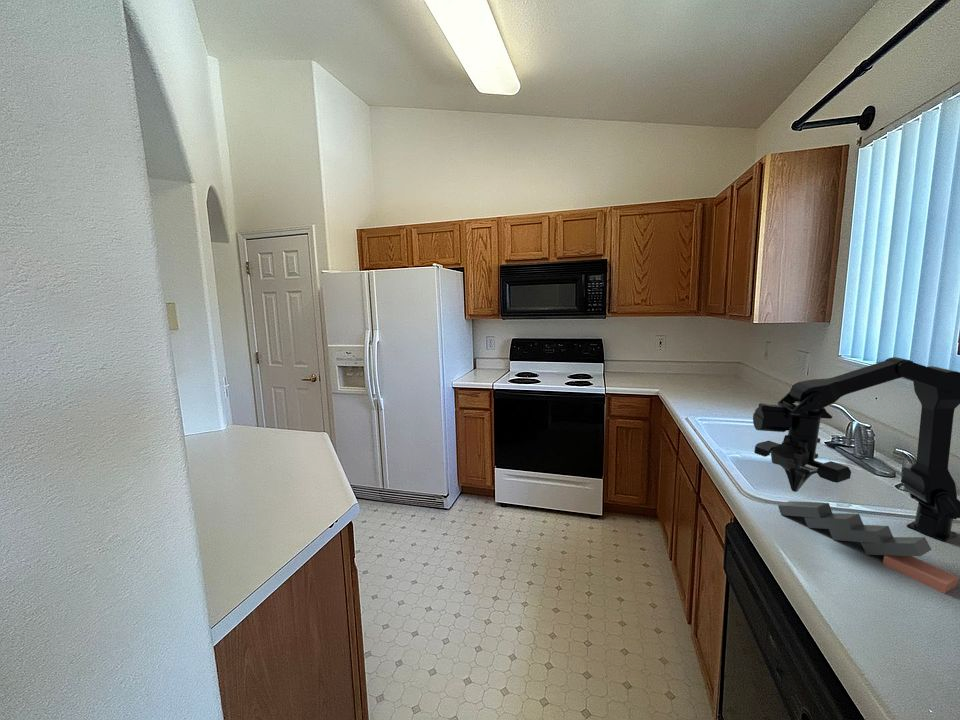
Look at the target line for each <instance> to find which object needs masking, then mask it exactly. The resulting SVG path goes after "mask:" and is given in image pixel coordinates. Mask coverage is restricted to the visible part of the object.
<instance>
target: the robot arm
mask: <svg viewBox="0 0 960 720" xmlns="http://www.w3.org/2000/svg"><path fill="white" fill-rule="evenodd" d="M901 378H903V379H905V380H908V381H911V382H913V391H914V393H915V395H916V397H917V398H918V401H919V402H920V404H921V409H920V412H921V413H920V420H919V430H918V431H919V432H918V441H917V454H916V461H915V463H914V464H913V465H912V466H911V467H905V466H904V467H902V478H901V480H900V482H901V483H902V484H903V488H904V489H906V491H907V492H908V494H909V496H910V498H911V499H914V501H916V502H918V503H917V508H916V513H915V518H914V521H912V522H910V523H907V524H906V528H908V529H911V530H914V531H916V532H918V533H921V534H924V535H927V536H929V537H931V538H934V539H936V540H939V541H941V542H947V541H949V540H951V539H953V538H954V537H955V538H956V537H957V536H958V533H957V532H955V531H953V530H952V528H953V524H954V523H953V522H954V520H957V519H960V500H959V499H958V492H957V485H956V482H955V480H954V478H953V476H952V474H951V472H950V471H949V462H950V451H951V443H952V434H953V424H954V414H955V410H956V408H957V407H959V406H960V372H959V371H956V370H952V369H948V368H942V367H938V366H932V365H931V366H926V365H923V364H919V363H916V362H914V361H912V360H910V359H907V358H901V357H897V356H894V357H889V358H888V357H887V359H885V360H882V361H880V362H876V363H874V364H870V365H868V366H863V367H861V368H858V369H855V370H852V371H849V372H846V373H843V374H839V375H836V376H833V377H829V378H813V379H808V380H803V381H798V382H796V383H794V384H793V385H791V388H790V389H789V392H788V393H786V394H785V395H784V397H782V398H781V399H780V400H779V401H778V402H777V404H768V403H762V402H761V403H758V407H757V408H755V410H754V412H753V414H752V423H753V426H754V428H755V430H756V431H760V432H761V431H762V432H773V433H774V432H777V433H785V432H786V431H788V432H787V434H785V435H784V437H783V441H782V442H781V443H777V442H775V441H772V440H766V441H761V442H758V443H757V444H756V445H755V446H754V450H753V451H754V454H757V455H759V456H761V457H768V456H771V457H770V460H771V463H772V464H774V465H778V466H780V467H781V468H782V469H783V470H784V472H785V474H786V477H787V480H788V483H789V485H790V490H791V491H792V492H794V493H797V492H799V491H800V489H801V488H802V486H803V485H804V484H805V483H806V481H807V480H808V479H809V478H810V477H811V476H812V475H815V474H817V475H818V476H819V478H821V479H823V480H824V479H825V480H827V481H829V482H833V483H841V482H845V481H847V480H850V479H851V476H852V470H851V469H850V468H849V466H847V465H844V464H842V463H837V462H835V461H832V460H830V461H827V462H824V463H823V462H821V461H818V460H815V459H818V458H819V453H817V445H818V444H819V443H821V440H822V439H821V438H820V437H819V434H820V433H819V431H820V426H821V420H822V419H828V420H829V419H831V420H832V419H833V415H831V414H830V413H829V412H828V411H827V410H826V407H829V406H830V405H833V404H835V403H836V402H837V401H838V400H839V399H840V398H842V397H844V396H846V395H848V394H852V393H856V392H859V391H862V390H865V389H868V388H872V387H875V386H879V385H882V384H885V383H888V382H891V381H895V380H898V379H901ZM795 403H796V404H798V405H796V404H795Z"/></svg>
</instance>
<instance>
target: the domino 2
mask: <svg viewBox="0 0 960 720" xmlns="http://www.w3.org/2000/svg"><path fill="white" fill-rule="evenodd" d="M803 518H804V522H805V523H806V526H807V528H808V529H820V530H821V529H824V530H829V529H839V530H853V529H855V528H858V527H860V526H862V525H865V524H864V523H863V520H862V517H861V515H860V513H842V512H841V513H840V512H839V513H838V512H836V513H835V512H834V513H833V512H832V514H829V515H827V516H824V517H822V518H813V517H803Z"/></svg>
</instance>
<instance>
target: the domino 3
mask: <svg viewBox="0 0 960 720" xmlns="http://www.w3.org/2000/svg"><path fill="white" fill-rule="evenodd" d="M828 530H829V533H830V536H831V538H832V540H833V541H843V542H844V541H845V542H856V543H857V542H858V543H862V542H868V543H881V544H882V543H883V542H886V541H888V540H890V539H892V538H893V537H894V536H893V534H892V531H891V529H890V526H889V525H878V524H876V525H875V524H864V525H862V526H860V527H858V528H855V529H853V530H839V529H828Z"/></svg>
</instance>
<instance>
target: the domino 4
mask: <svg viewBox="0 0 960 720" xmlns="http://www.w3.org/2000/svg"><path fill="white" fill-rule="evenodd" d="M860 543H861V546H862V548H863V550H864V552H865V554H866V555H867V556H868V555H871V556H873V555H874V556H884V555H894V556H912V557H922V556H924V555H926V554H928V553H929V552H930V551H932V548H931V545H930V544H929V542H928V541H927V539H926V537H924V536H923V537H922V536H921V537H919V536H917V537H915V536H907V537H905V536H904V537H903V536H899V537H898V536H897V537H896V536H893V538H892V539H890V540H888V541H886V542H883V543H882V544H881V543H868V542H860Z"/></svg>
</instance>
